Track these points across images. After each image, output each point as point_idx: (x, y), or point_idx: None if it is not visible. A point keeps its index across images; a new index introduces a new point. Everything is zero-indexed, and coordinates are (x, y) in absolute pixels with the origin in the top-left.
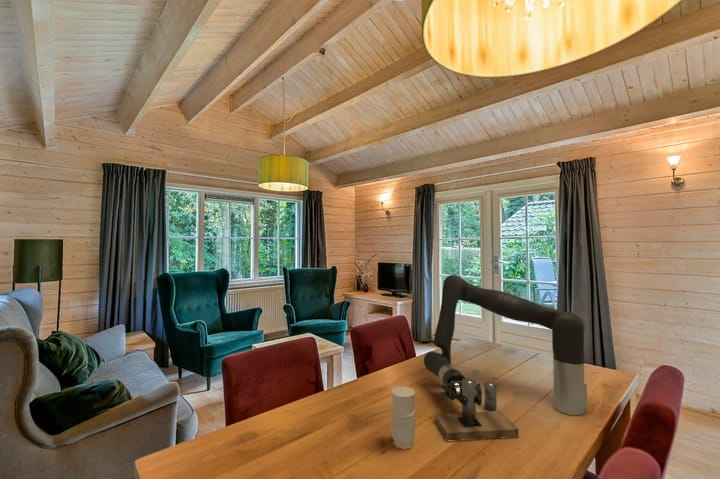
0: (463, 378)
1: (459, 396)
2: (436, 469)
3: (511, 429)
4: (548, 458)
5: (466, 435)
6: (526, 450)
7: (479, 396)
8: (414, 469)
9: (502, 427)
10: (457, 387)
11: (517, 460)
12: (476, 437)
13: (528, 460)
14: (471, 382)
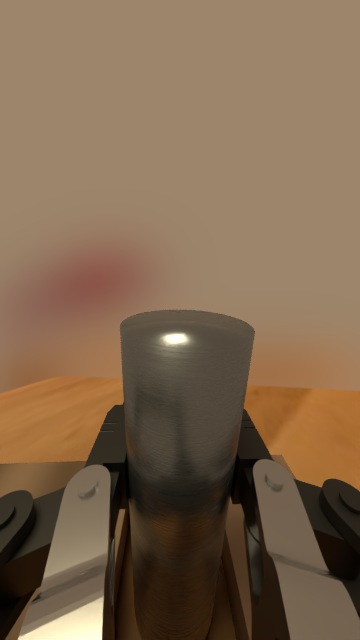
0: (241, 340)
1: (257, 444)
2: (277, 391)
3: (29, 463)
4: (50, 400)
5: None
6: (65, 423)
7: (101, 435)
8: (316, 393)
9: (47, 481)
10: (326, 617)
11: (119, 399)
12: None
13: (97, 398)
14: (179, 312)
